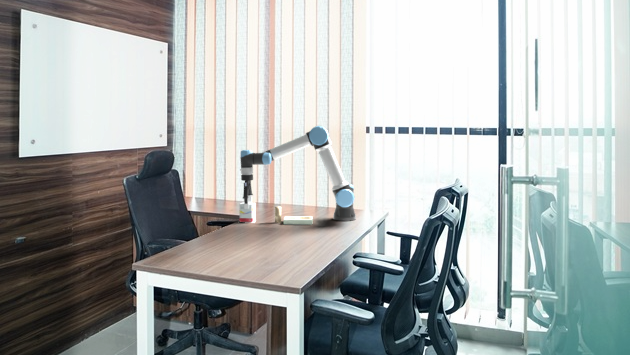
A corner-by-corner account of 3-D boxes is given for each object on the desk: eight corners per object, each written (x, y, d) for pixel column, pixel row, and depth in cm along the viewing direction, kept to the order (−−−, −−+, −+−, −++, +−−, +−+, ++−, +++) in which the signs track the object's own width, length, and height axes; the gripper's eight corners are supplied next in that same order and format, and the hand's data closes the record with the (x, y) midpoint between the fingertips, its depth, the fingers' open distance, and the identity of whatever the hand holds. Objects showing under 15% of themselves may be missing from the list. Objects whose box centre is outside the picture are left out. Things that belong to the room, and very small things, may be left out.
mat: (256, 220, 318) (256, 219, 318) (254, 223, 308) (254, 222, 308) (241, 220, 318) (241, 219, 318) (238, 222, 308) (238, 222, 308)
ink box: (252, 222, 308) (251, 204, 307) (239, 222, 310) (238, 203, 308) (256, 220, 316) (255, 202, 315) (243, 219, 318) (243, 201, 317)
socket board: (312, 221, 315) (312, 216, 315) (312, 224, 303) (312, 219, 303) (285, 220, 316) (285, 216, 315) (283, 224, 304) (283, 219, 303)
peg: (281, 222, 312) (281, 206, 311) (280, 223, 308) (280, 207, 307) (275, 221, 312) (275, 206, 311) (274, 223, 308) (274, 207, 307)
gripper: (244, 172, 322) (245, 204, 324) (237, 176, 298) (239, 210, 300) (255, 172, 322) (256, 203, 324) (249, 175, 297) (251, 210, 299)
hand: (248, 207), depth 312 cm, fingers open, 13 cm apart
